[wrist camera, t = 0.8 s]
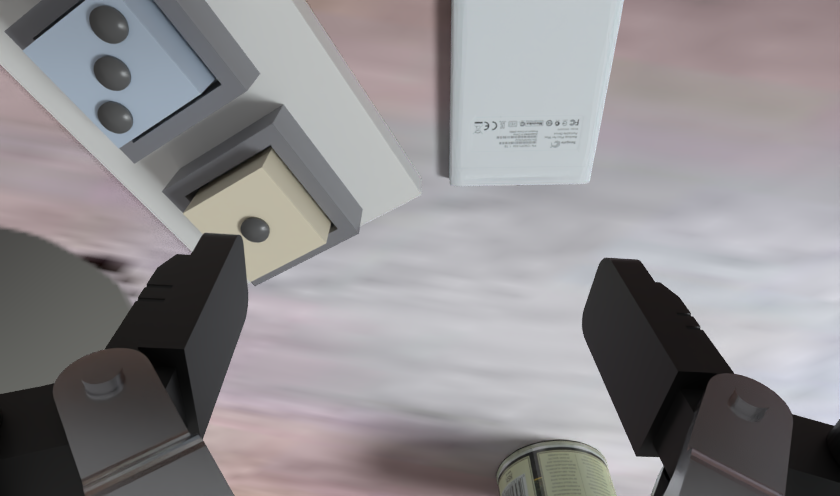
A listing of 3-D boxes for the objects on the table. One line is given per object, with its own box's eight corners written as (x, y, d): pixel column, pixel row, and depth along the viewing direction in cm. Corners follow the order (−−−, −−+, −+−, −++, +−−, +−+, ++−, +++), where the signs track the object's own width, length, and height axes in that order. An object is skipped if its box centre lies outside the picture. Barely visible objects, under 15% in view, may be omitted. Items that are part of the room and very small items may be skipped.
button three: (135, -28, 23) (105, -17, 20) (218, 75, 25) (199, 95, 23) (55, 35, 24) (19, 52, 22) (141, 126, 26) (116, 150, 24)
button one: (274, 144, 27) (261, 169, 25) (332, 217, 30) (325, 245, 27) (199, 188, 28) (181, 215, 26) (261, 254, 31) (249, 284, 29)
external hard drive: (626, -66, 25) (584, 172, 32) (451, -62, 25) (448, 174, 33) (637, -62, 24) (591, 185, 31) (453, -58, 24) (449, 188, 31)
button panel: (27, -425, 19) (-70, -497, 15) (421, 178, 32) (422, 218, 28) (-191, -167, 23) (-309, -173, 19) (241, 272, 36) (220, 318, 32)
